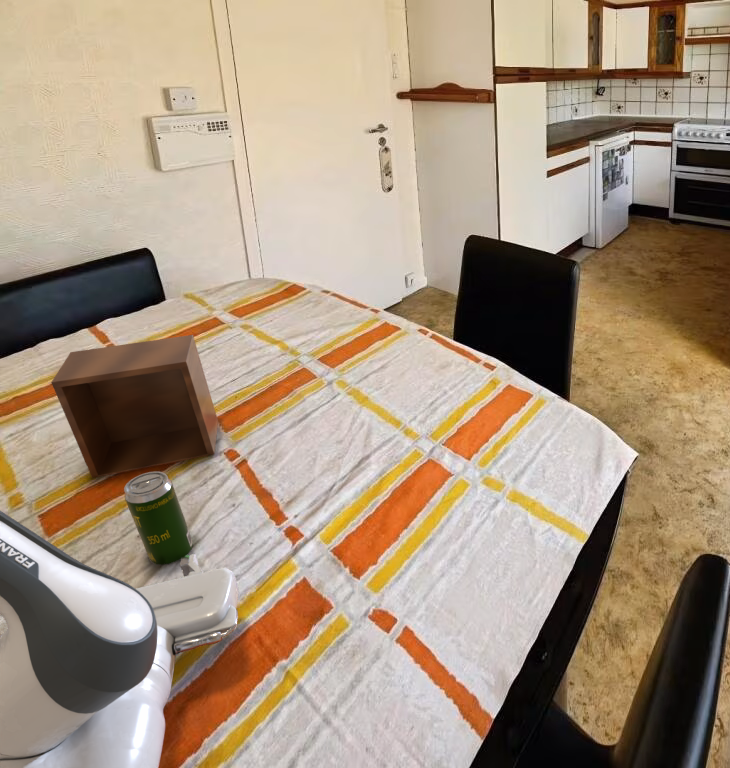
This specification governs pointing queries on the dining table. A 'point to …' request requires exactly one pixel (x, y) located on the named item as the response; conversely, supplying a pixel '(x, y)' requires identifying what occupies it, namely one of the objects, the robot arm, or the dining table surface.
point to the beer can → (158, 517)
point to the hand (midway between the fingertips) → (146, 569)
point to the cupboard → (138, 405)
